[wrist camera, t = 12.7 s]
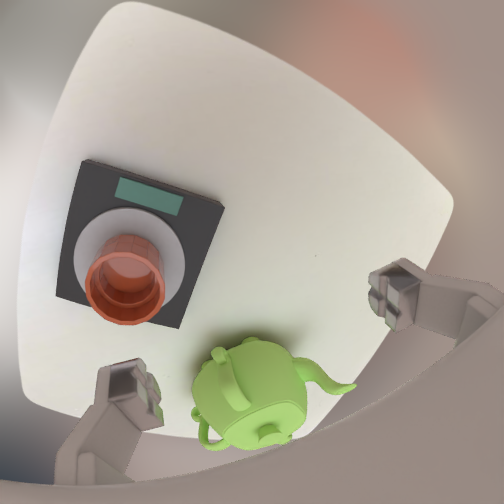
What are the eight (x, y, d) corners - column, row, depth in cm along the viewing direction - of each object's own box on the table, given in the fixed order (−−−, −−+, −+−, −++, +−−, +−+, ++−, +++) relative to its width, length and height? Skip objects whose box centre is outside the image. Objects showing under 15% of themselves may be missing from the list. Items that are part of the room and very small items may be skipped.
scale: (87, 158, 23) (80, 161, 21) (220, 202, 29) (226, 209, 26) (60, 286, 27) (53, 299, 24) (177, 318, 32) (179, 332, 30)
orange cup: (84, 247, 24) (71, 269, 20) (148, 222, 25) (146, 239, 21) (113, 306, 27) (108, 334, 23) (174, 284, 28) (177, 310, 24)
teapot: (213, 305, 33) (242, 385, 22) (311, 325, 39) (360, 387, 28) (177, 396, 37) (191, 470, 26) (264, 403, 43) (292, 465, 32)
